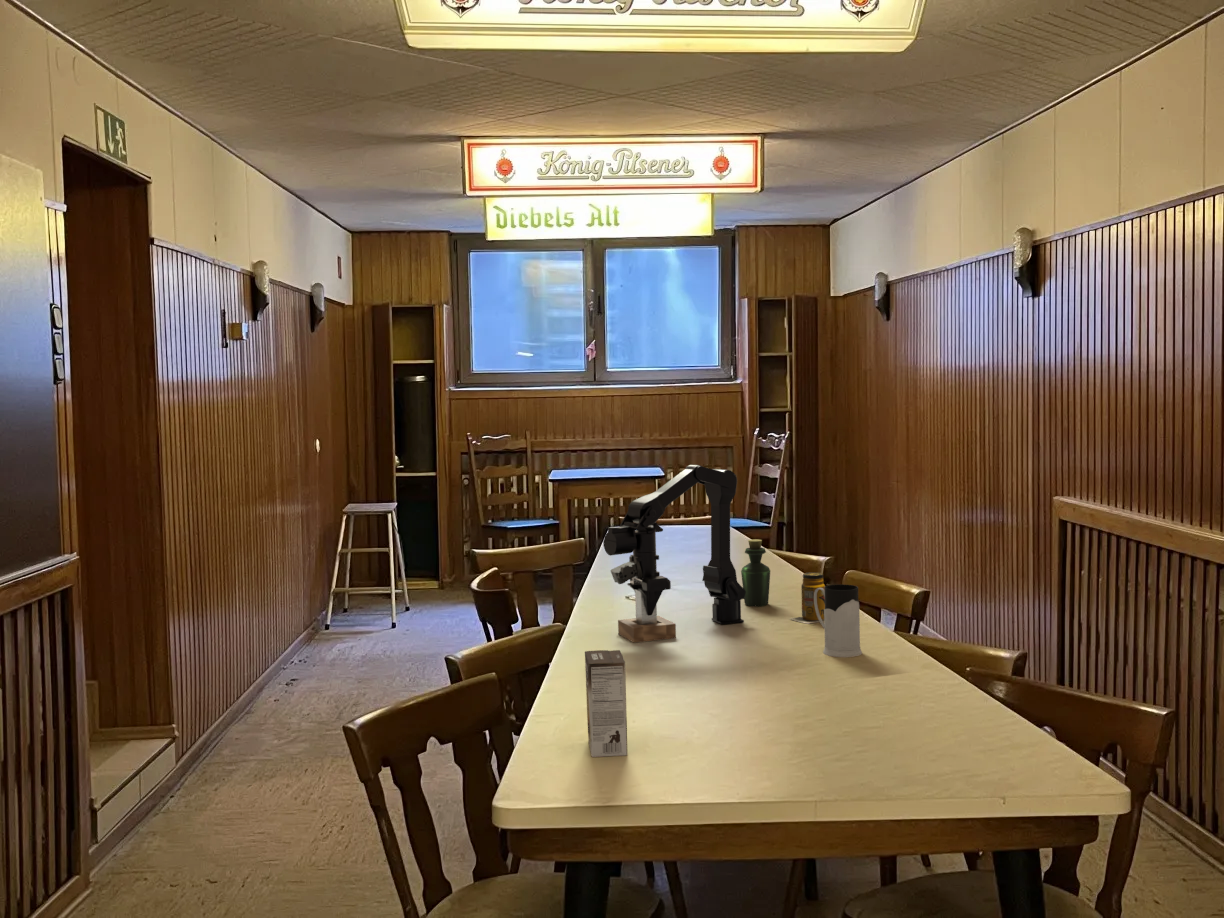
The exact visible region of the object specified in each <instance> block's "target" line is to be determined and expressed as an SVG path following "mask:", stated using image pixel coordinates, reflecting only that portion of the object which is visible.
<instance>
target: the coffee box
mask: <svg viewBox="0 0 1224 918" xmlns="http://www.w3.org/2000/svg"><path fill="white" fill-rule="evenodd" d="M584 663H585V666H584V667H585V690H586V692H585V693H586V696H585V697H586V717H587V719H586V720H587V739H588V744H589V750H590V755H591V757H592V758H600V757H619V756H621V757H622V756H627V755H628V717H627V712H628V711H627V683H626V677H627V676H626V661H625V659H624V656H623V654H622V652H621V650H620V649H616V650H615V649H613V650H608V649H607V650H605V649H603V650H600V649H599V650H597V649H596V650H585V651H584Z"/></svg>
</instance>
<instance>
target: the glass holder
mask: <svg viewBox="0 0 1224 918" xmlns="http://www.w3.org/2000/svg"><path fill="white" fill-rule="evenodd" d="M819 589H820V590H821V591H822V592H823V594H824V598H825V609H824V621H822V619H821V617H820V614H819V610H818V606H817V592H818V590H819ZM814 606H815V611H816V614H817V617H818V619H819V621H820V622H819V623H820V625H821V626H822V628H823V629H824V647H823V651H822V653H823V654H824V655H825V656H829V657H833V658H834V657H835V658H852V657H857V656H858V657H859V656H861V655H863V651H862V649H861V631H860V628H861V627H860V625H861V624H860V619H861V618H860V602H859V586H857V585H853V584H852V585H851V584H838V583H837V584H831V585H830V584H829V585H825V590H824V589H823V588H817V589H816V590H815V592H814Z"/></svg>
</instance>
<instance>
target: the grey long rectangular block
mask: <svg viewBox="0 0 1224 918" xmlns="http://www.w3.org/2000/svg"><path fill="white" fill-rule="evenodd" d="M634 595H635V618H636V624H638V625H648V624H657V616H658V615H657V614H658V611H657V608H658V607H657V604H656V607H655V609H654V611H653V614H652V615H647V611H646V605H645V599H644V594H643V593H642V592H641V591H640V590H639V589H635V591H634Z"/></svg>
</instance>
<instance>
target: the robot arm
mask: <svg viewBox="0 0 1224 918" xmlns="http://www.w3.org/2000/svg"><path fill="white" fill-rule="evenodd" d="M697 484H701V485H704V490H705V494H706V496H707V498H708V501H709V503H710V560H709V561H708V564H707V565H703V566H702V572H703V575H702V579H701V580H702V582H704V586H705V588H706V589H707V591H708V593H709V597H711V598H713V603H712V605H711V607H712V618H711V621H713V622H716V623H718V624H720V625H727V624H737V623H744V622H745V620H744V619H742V609H741V608H742V606H741V605H742V604H741V600H744V597H745V593H746V591H745V590H744V588H743V585H741V584H740V582H738V577H737V571H736V570H737V569H736V568H735V566H734V563H733V562H732V560H731V503H732V502H733V499H734V498H735V495H736V493H737V487H738V486H737V484H738V477H737V475H736V474H735V473H734V471H732V470H730V469H719V468H718V469H717V468H709V467H705V466H703V465H701V464H700V465H699V464H689V465H687V466H686V467H685V468H684V469H683V470H682V471H680V472H679V473H678V474H676V475H675V476H674V477H673V478H672V479H670V480H668V481H667V482H666V483H665V484H663V485H662V486H661V487H659V488H658V489H656V490H655V491H654V492H652V493H649V494H646V495H642V496H640V497H639V498H636V499H634V500H632V501H631V502H630V503H629V504H628V508H627V509H628V510H627V511H626V514H625V515H624V517H623V519H622V521H621V522H620V525H619V526H616V527H615V526H610V527H607V533H605V535H604V538H603V540H602V541H603V544H602V545H603V548H604V551H605V552H606V555H608V556H616V555H626V554H630V556H629V561H627V562H623V563H622V564H620V565H618V566H616V567H614V568H612V569H611V570H610V573H611V576H612V578H613V580H614V583H617V584H618V585H623V584H625V583H626V582H628V581H629V582H628V583H626V585H627V586H629V588H631V589H632V590H633V592H635V589H639V590H640V591H641V592H642V593H643V594H644V599H645V605H646V611H647V615H652V614H653V611H654V609H655V607H656V605H657V604H658V602H659V600H660V597H661V595H662V594H663V593H664V591H666V590H671V589H672V588H671V587H672V586H671V585H672V584H671V583H672V582H671V580H670V578H668V577H666V576H663V575H660V574H661V573H660V571H658V570H657V567H658V566H657V561H659V560H660V555H658V554H657V540H656V539H657V537H656V533H661V532H663V531H664V528H662V527H661V526H660V525H659V524H658V523H657V521H658V520H659V519H661V517H662V516H663V514H664V513H665V510H666V508H667V507H668V506H669V505H670V504H672V503H673V502H674V501H676V500H677V499H679V497H681V496H682V495H683V494H685V493H686V492H687V491H688V490H690V489H691V488H692V487H694V486H696V485H697ZM631 553H632V554H631Z"/></svg>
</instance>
